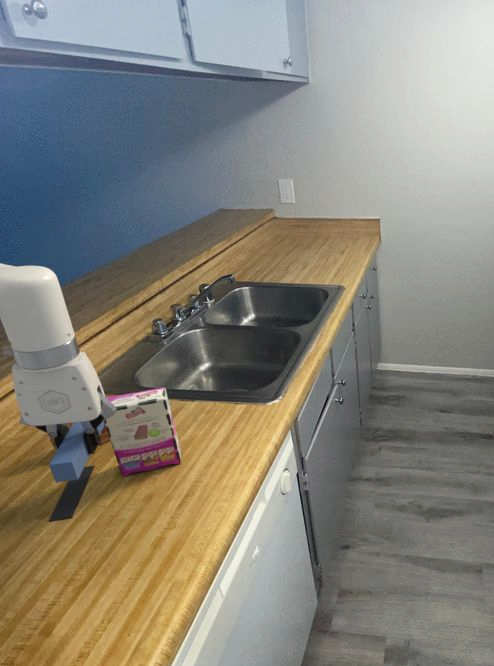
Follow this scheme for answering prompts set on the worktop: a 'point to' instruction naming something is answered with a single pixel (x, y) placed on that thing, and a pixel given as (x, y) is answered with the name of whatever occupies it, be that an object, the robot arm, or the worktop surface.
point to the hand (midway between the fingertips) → (81, 449)
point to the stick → (71, 455)
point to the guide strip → (71, 496)
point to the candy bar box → (143, 432)
